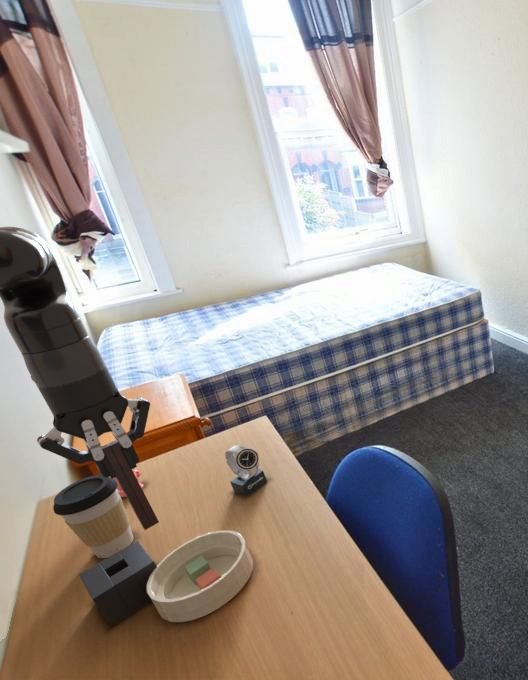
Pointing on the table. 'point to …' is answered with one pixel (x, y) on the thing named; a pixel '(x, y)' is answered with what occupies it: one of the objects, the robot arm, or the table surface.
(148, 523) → the chopsticks
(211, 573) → the terracotta block
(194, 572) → the sage block
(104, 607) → the stand
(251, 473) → the watch
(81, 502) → the coffee cup
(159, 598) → the bowl
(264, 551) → the table surface
